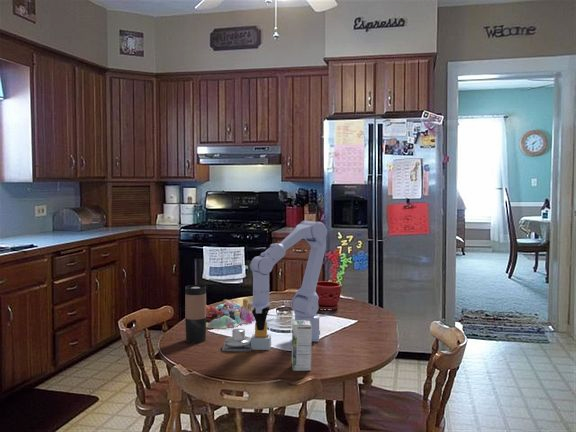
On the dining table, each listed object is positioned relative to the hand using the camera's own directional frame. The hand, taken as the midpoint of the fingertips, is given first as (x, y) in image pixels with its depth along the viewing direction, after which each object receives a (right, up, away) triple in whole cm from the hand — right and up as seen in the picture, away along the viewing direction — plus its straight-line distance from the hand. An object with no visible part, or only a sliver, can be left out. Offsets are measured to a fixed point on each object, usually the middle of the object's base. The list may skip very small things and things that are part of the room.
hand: (261, 328), depth 185 cm
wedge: (0, -5, 0) cm, 5 cm away
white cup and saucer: (-8, -7, +1) cm, 10 cm away
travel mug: (-24, -6, +9) cm, 27 cm away
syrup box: (+14, -8, -20) cm, 26 cm away
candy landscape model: (-16, -5, +37) cm, 40 cm away
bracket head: (0, -6, +4) cm, 8 cm away
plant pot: (+28, -4, +60) cm, 66 cm away
